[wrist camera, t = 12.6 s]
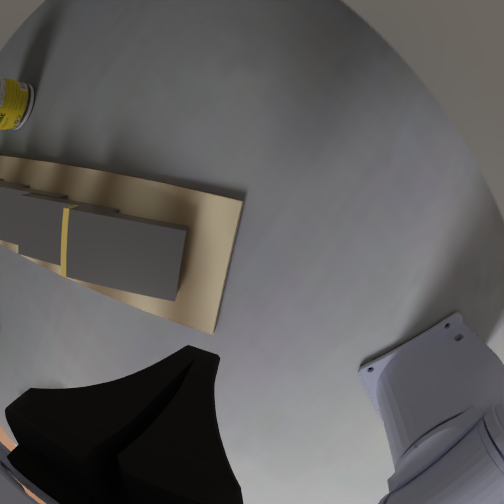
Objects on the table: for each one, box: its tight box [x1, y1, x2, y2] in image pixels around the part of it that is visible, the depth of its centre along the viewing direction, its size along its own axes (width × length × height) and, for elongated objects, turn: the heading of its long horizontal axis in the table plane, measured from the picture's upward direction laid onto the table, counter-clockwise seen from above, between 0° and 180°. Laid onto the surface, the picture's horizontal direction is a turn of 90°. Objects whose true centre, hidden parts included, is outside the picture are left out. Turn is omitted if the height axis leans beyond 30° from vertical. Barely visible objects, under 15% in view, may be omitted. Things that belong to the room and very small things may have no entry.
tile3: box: [0, 184, 68, 245], centre depth 20 cm, size 2×5×9 cm
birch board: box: [0, 155, 244, 335], centre depth 22 cm, size 34×10×1 cm, turn 77°
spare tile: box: [61, 205, 189, 302], centre depth 19 cm, size 2×5×9 cm
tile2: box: [18, 193, 119, 266], centre depth 20 cm, size 2×5×9 cm
